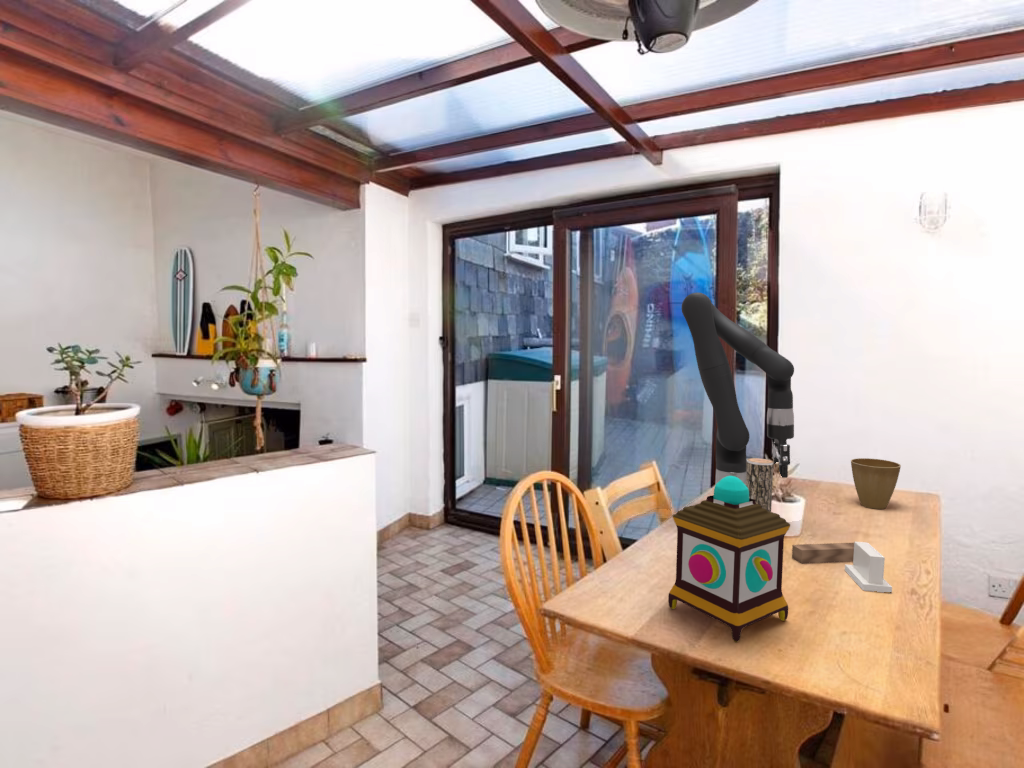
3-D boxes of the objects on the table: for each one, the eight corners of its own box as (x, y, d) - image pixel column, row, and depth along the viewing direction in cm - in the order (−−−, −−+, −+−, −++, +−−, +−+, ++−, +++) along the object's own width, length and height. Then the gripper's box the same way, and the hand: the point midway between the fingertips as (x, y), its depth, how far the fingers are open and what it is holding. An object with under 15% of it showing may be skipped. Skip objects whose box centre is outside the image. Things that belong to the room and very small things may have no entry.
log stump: (769, 545, 158) (773, 459, 156) (769, 554, 152) (773, 464, 150) (743, 542, 161) (747, 457, 159) (742, 549, 155) (746, 461, 153)
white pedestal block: (862, 590, 130) (864, 557, 129) (844, 570, 142) (846, 539, 141) (891, 593, 129) (893, 559, 128) (870, 572, 140) (872, 541, 140)
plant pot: (850, 498, 208) (852, 456, 207) (898, 505, 200) (901, 461, 198) (846, 507, 196) (849, 463, 195) (897, 515, 188) (900, 469, 186)
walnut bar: (801, 565, 145) (801, 550, 145) (791, 559, 149) (792, 544, 149) (870, 562, 148) (871, 547, 147) (859, 556, 152) (860, 542, 151)
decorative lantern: (717, 586, 132) (721, 461, 129) (798, 621, 115) (805, 479, 113) (658, 607, 121) (662, 471, 119) (738, 650, 104) (744, 493, 102)
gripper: (763, 419, 179) (763, 468, 180) (771, 425, 165) (772, 479, 166) (788, 419, 177) (788, 469, 178) (799, 425, 163) (799, 479, 165)
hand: (780, 474), depth 172 cm, fingers open, 8 cm apart
